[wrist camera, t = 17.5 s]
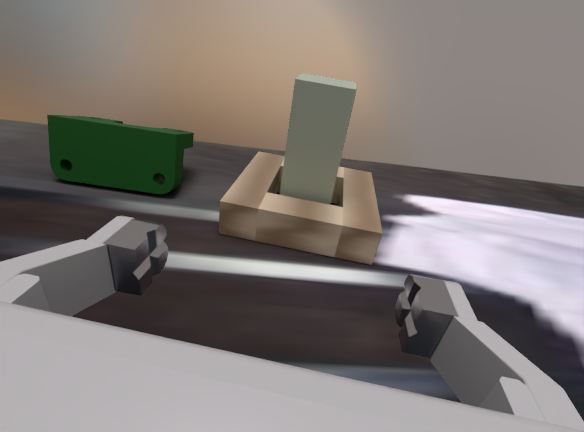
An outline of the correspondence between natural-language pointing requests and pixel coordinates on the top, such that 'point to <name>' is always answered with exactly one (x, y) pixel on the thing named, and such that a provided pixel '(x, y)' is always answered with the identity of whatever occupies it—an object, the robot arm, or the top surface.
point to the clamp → (117, 153)
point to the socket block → (303, 213)
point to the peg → (316, 136)
